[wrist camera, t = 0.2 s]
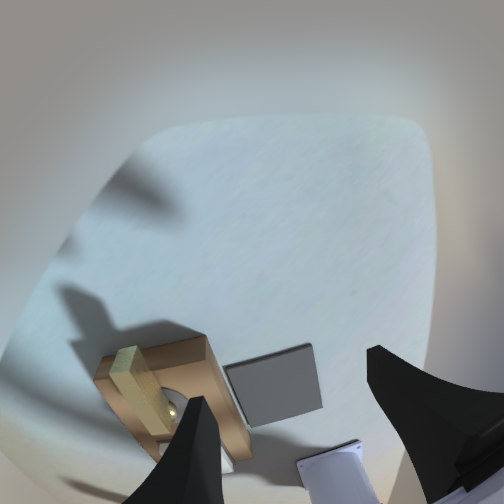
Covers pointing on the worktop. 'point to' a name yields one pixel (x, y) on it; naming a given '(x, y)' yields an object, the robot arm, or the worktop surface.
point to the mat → (277, 386)
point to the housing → (181, 394)
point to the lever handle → (142, 391)
